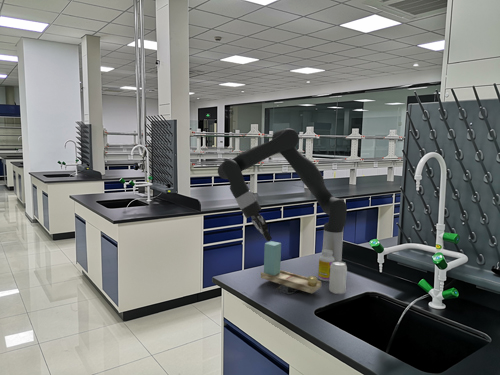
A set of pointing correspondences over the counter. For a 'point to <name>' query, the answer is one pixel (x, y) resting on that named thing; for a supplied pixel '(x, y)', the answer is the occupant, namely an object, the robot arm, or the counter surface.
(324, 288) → the counter surface
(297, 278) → the beam
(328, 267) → the supplement bottle
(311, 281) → the counterweight
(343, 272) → the can
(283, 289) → the fulcrum
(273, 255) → the block
